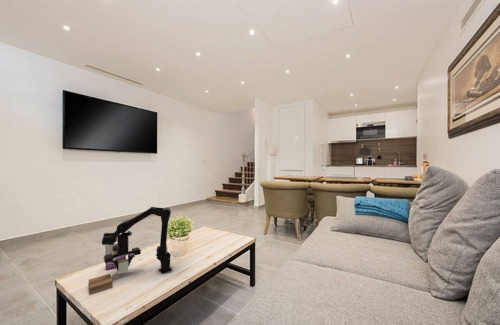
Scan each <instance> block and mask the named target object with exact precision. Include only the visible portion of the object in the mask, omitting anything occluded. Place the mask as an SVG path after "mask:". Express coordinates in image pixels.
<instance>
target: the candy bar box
mask: <svg viewBox="0 0 500 325" xmlns="http://www.w3.org/2000/svg"><path fill="white" fill-rule="evenodd" d="M117 244H118V240H117V242H115V244H110V245H105V255H108V254H112V255H116V254H117V253H116V251H113V246H117ZM126 258H127V255H126V256H122V257H118V258H117V260H122V259H126ZM114 269H116V266H115V264H114V263H112V262H108V263H105V271H109V270H114Z"/></svg>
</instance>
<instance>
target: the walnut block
mask: <svg viewBox="0 0 500 325" xmlns="http://www.w3.org/2000/svg"><path fill="white" fill-rule="evenodd" d="M87 287H88V294H89V296H91V295H93V294H97V293H100V292H104V291H107V290H109V289H110V290H111V289H112V288H113V278H112V276H111V273H107V274H104V275H101V276H96V277H93V278H90V279H88V286H87Z"/></svg>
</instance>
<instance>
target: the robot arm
mask: <svg viewBox="0 0 500 325" xmlns="http://www.w3.org/2000/svg"><path fill="white" fill-rule="evenodd" d="M171 214H172V210H171V209H170V208H169V207H156V206H150V207H149V208H147V209H146V210H145V211H143V212H140V213H139V214H137V215H135V216H134V217H132V218H130V219H125V220H124V221H121V222H120V223H119V224H118V225H117V226H116V230H115V231H114V232H104V233H103V236H102V238H101V239H102V240H101V245H102V246H106V245H110V244H115V242H117V241H118V244H117V246H113V251H116V253H117V254H116V255H112V254H108V255H106V254H105V255H104V256H103V262H104V263H105V264H106V263H108V262H112V263H114V264H115V266H116V268H115V269H116V272H117V271H118V260H117V258H118V257H122V256H126V257H127V260H128V268H129V266H130V265H131V263H132V260H133V259H134V258H135V257H136V256H138V255H141V254H142V253H141V252H142V250H141V249H140V248H139V247H134V248H131V250H129V246H130V245H129V237H131V236H132V235H133V232H132V231H130V229H131V228H132V227H133V226H134V225H136V224H138V223H139V222H141V221H143V220H145V219H146V218H148V217H149V216H152V215H154V216H157V217H160V219H161V232H160V243H159V246H158V245H157V246H156V254H155V256H156V259H157V260H158V261H159V263H160V268H158V271H159V272H160V273H161V274H162V275H163V274H166V273H168V272H171V271H173V268H172V267H171V256H172V254H171V253H170V252H169V251H168V245H167V241H168V240H167V239H168V231H169V230H168V227H169V220H170V217H171Z"/></svg>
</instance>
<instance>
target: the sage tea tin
mask: <svg viewBox="0 0 500 325" xmlns="http://www.w3.org/2000/svg"><path fill="white" fill-rule="evenodd" d="M116 272H117V274H118V275H119V274H123V273H127V272H129V267H128V257H126V259H122V260H118V271H117V270H116Z"/></svg>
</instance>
